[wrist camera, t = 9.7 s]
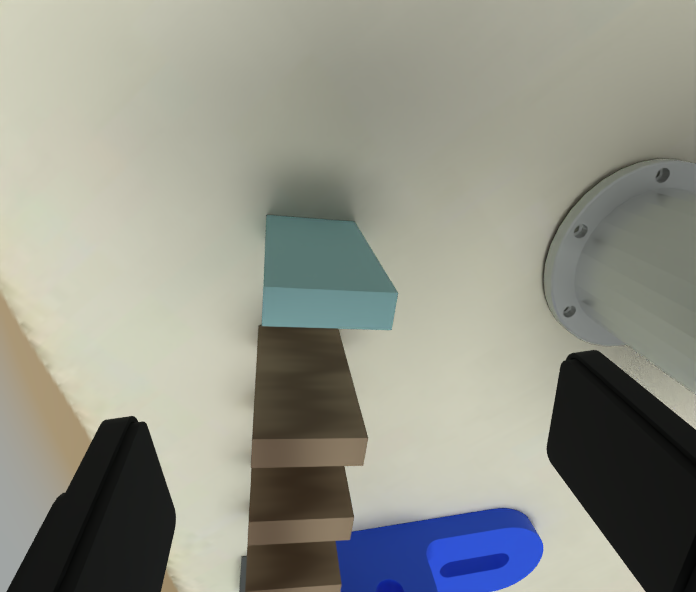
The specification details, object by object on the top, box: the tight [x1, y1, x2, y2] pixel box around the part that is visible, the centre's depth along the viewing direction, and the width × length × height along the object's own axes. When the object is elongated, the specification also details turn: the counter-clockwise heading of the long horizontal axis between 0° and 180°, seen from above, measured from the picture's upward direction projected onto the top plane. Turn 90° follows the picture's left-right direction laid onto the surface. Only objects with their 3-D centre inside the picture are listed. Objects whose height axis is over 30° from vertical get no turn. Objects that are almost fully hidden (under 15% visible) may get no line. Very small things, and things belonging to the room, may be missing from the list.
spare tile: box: [262, 215, 398, 330], centre depth 21 cm, size 5×2×10 cm, turn 83°
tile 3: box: [248, 466, 354, 546], centre depth 26 cm, size 5×2×10 cm, turn 83°
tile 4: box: [245, 541, 342, 592], centre depth 28 cm, size 5×2×10 cm, turn 83°
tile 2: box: [251, 326, 368, 468], centre depth 24 cm, size 5×2×10 cm, turn 83°
